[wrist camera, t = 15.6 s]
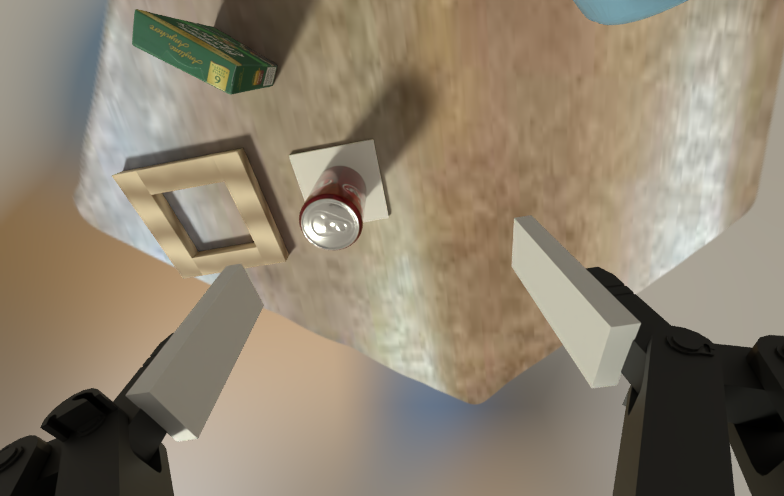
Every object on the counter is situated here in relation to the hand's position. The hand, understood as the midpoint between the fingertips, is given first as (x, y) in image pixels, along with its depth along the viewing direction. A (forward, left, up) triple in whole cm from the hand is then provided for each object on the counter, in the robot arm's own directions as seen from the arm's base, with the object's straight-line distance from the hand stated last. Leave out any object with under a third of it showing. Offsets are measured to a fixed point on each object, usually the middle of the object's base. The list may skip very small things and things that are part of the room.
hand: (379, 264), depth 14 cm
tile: (+6, -7, -31) cm, 32 cm away
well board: (+7, -28, -31) cm, 42 cm away
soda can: (+6, -7, -30) cm, 32 cm away
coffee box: (-12, -14, -31) cm, 36 cm away
